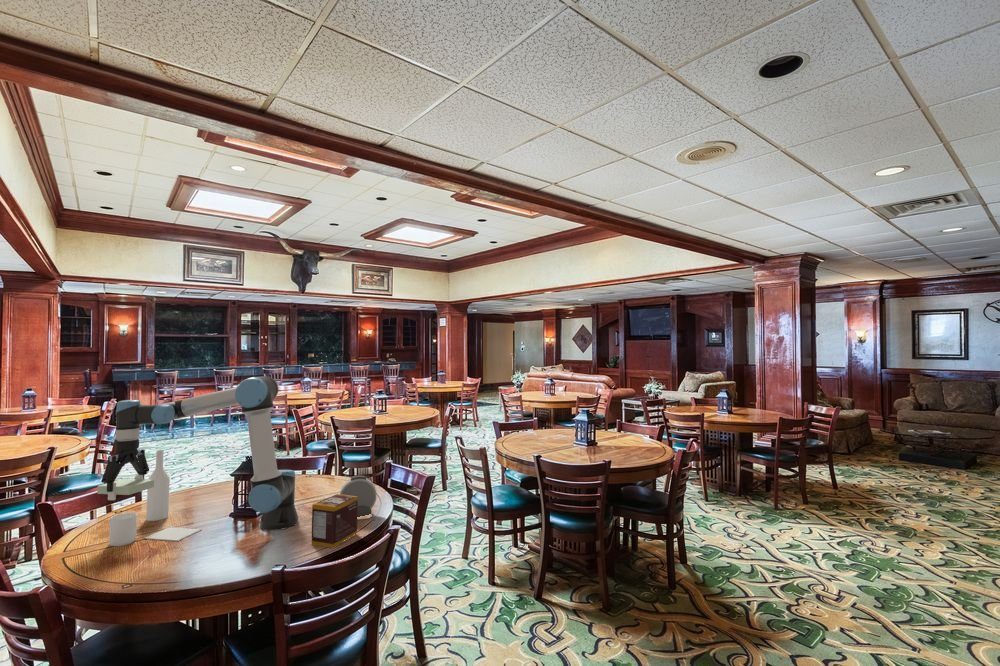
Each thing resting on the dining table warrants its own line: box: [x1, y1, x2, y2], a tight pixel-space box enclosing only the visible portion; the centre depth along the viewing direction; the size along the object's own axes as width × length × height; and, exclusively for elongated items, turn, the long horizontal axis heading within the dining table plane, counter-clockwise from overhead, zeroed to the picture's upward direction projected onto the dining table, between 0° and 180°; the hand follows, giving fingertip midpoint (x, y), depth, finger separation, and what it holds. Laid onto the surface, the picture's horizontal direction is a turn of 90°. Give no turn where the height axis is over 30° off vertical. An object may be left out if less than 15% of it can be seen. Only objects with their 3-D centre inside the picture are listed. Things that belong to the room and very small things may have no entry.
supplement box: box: [311, 493, 358, 549], centre depth 191 cm, size 10×15×16 cm
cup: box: [108, 512, 138, 547], centre depth 188 cm, size 8×12×10 cm
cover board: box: [96, 478, 154, 496], centre depth 189 cm, size 14×11×3 cm
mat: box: [144, 526, 202, 542], centre depth 194 cm, size 15×12×1 cm
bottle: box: [145, 449, 171, 522], centre depth 214 cm, size 8×8×30 cm
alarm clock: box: [339, 474, 378, 517], centre depth 218 cm, size 16×10×18 cm, turn 108°
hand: (125, 495), depth 188 cm, fingers closed on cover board, 11 cm apart
